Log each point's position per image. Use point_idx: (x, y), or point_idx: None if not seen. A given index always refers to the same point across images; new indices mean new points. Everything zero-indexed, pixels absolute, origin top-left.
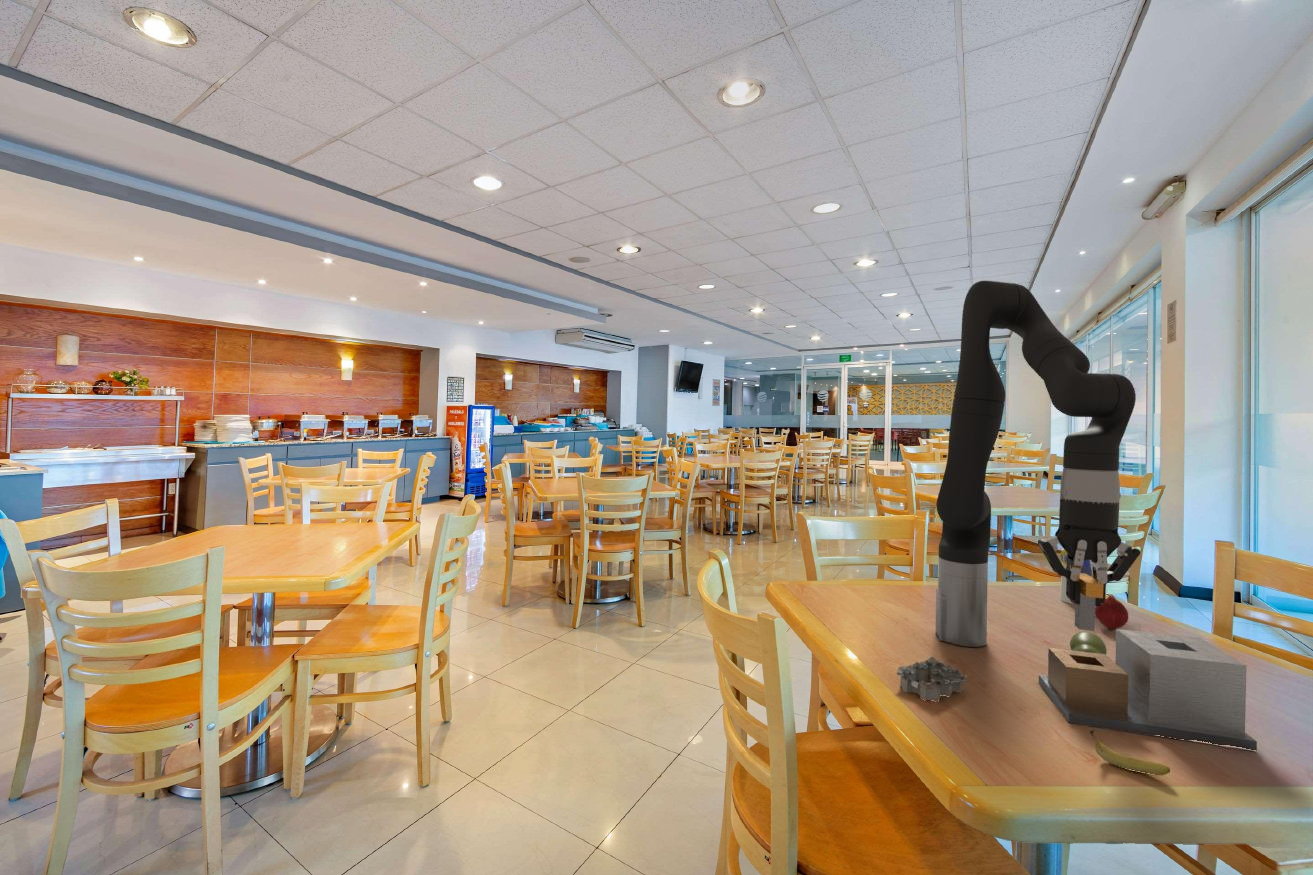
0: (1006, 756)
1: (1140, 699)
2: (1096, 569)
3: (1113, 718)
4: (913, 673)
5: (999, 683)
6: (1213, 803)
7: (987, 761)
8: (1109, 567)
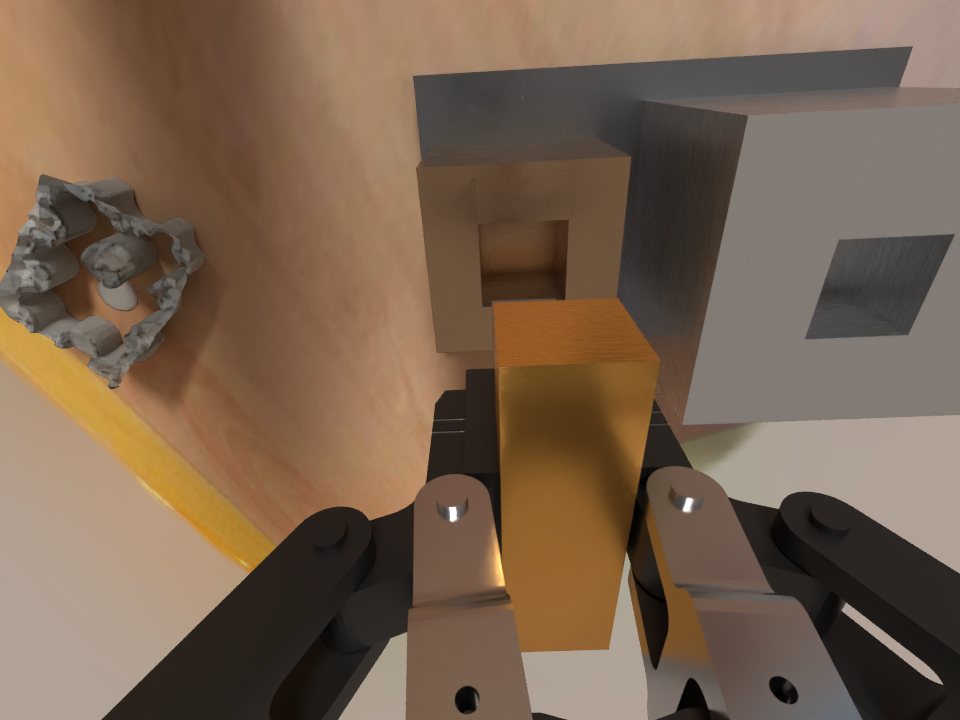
0: (313, 491)
1: (633, 287)
2: (651, 662)
3: None
4: (48, 285)
5: (294, 144)
6: None
7: (286, 511)
8: (864, 586)
